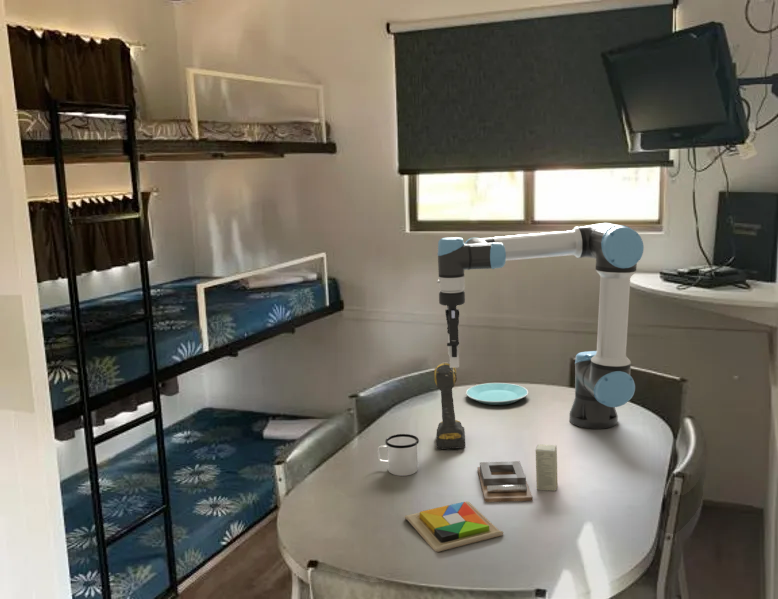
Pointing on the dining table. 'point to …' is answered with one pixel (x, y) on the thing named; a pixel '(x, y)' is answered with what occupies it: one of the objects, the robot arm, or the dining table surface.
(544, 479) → the box
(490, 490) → the rod
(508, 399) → the plate
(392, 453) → the mug
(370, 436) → the dining table surface
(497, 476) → the stand
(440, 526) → the wooden puzzle
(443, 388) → the cordless drill
